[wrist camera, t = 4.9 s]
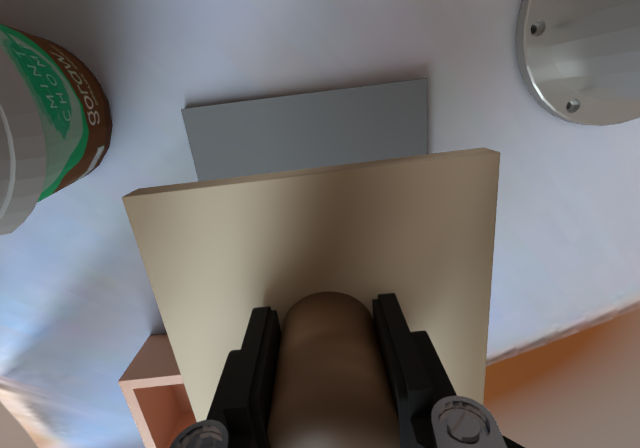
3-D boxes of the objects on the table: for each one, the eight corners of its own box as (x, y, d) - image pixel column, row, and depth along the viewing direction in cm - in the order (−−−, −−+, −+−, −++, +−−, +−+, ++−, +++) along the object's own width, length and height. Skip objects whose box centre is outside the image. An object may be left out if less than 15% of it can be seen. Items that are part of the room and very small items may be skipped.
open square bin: (254, 324, 29) (243, 368, 24) (272, 404, 32) (265, 456, 27) (149, 335, 29) (117, 381, 24) (177, 413, 32) (154, 467, 27)
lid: (484, 147, 11) (617, 187, 6) (470, 409, 14) (544, 559, 10) (138, 188, 11) (4, 257, 6) (215, 433, 15) (168, 590, 10)
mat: (423, 78, 22) (426, 78, 22) (426, 289, 28) (428, 293, 27) (184, 108, 23) (180, 109, 22) (233, 311, 28) (231, 315, 28)
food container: (169, 146, 24) (75, 178, 14) (103, 192, 25) (-27, 249, 15) (31, -37, 20) (-222, -159, 10) (-41, 25, 21) (-331, -35, 11)
